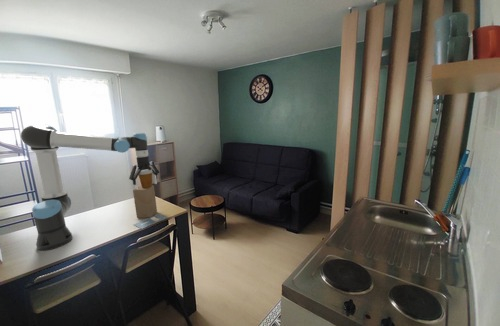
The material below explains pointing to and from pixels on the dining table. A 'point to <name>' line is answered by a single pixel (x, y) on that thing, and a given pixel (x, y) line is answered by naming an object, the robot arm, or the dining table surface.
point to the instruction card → (149, 221)
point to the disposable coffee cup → (146, 178)
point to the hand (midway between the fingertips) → (146, 186)
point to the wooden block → (145, 202)
